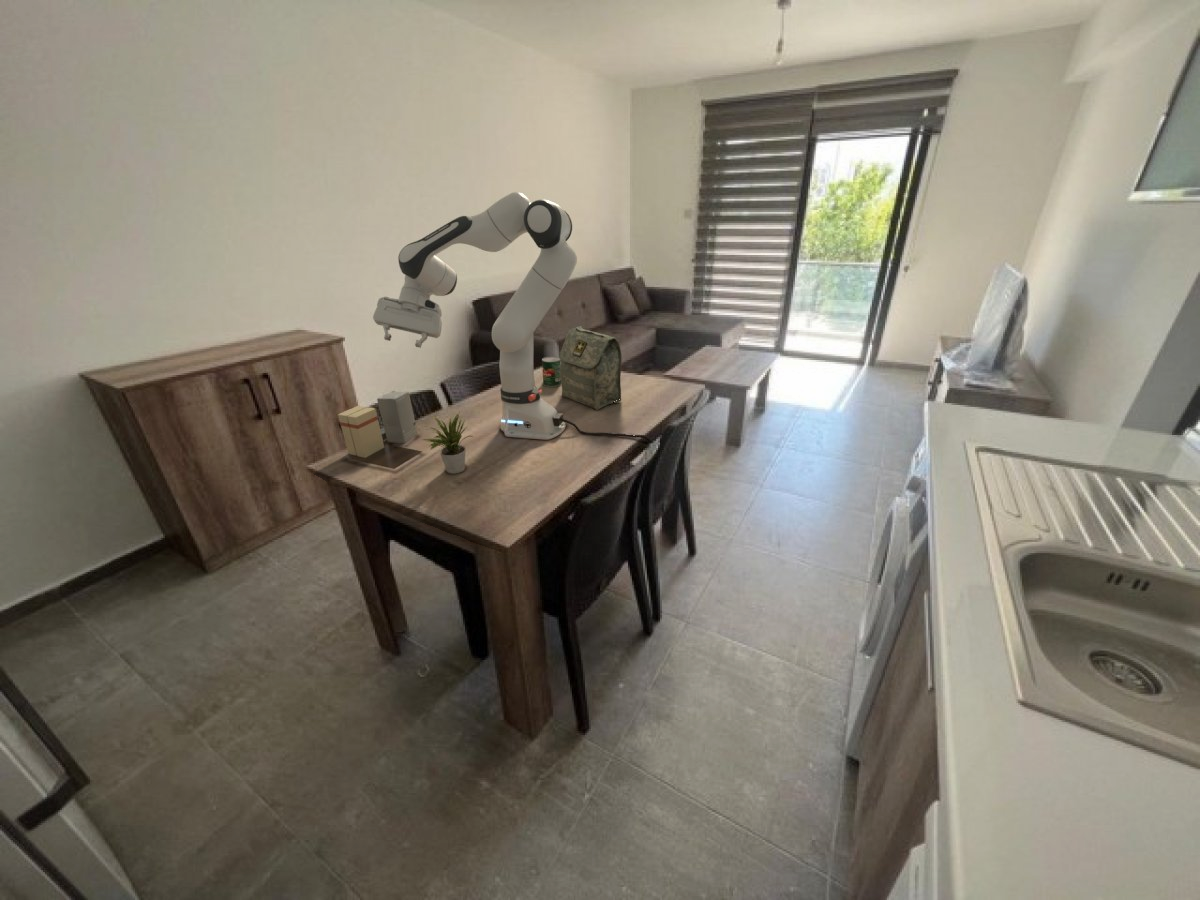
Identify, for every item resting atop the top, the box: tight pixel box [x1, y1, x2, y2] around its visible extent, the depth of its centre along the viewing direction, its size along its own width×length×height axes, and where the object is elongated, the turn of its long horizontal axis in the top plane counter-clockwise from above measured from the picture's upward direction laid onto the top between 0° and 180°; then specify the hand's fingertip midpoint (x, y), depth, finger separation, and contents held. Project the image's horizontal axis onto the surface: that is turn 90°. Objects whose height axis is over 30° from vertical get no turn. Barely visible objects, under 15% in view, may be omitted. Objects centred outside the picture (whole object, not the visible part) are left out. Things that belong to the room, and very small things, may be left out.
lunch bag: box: [558, 325, 623, 411], centre depth 183 cm, size 22×16×27 cm
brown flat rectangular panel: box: [342, 443, 423, 470], centre depth 145 cm, size 20×12×1 cm, turn 68°
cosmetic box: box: [376, 390, 418, 444], centre depth 153 cm, size 8×7×16 cm
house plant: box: [422, 411, 474, 475], centre depth 136 cm, size 14×14×16 cm
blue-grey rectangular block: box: [380, 426, 387, 441], centre depth 158 cm, size 4×10×3 cm, turn 158°
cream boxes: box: [337, 405, 385, 458], centre depth 144 cm, size 7×8×13 cm
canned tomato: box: [541, 356, 561, 388], centre depth 205 cm, size 8×8×11 cm
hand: (402, 343), depth 150 cm, fingers open, 8 cm apart
